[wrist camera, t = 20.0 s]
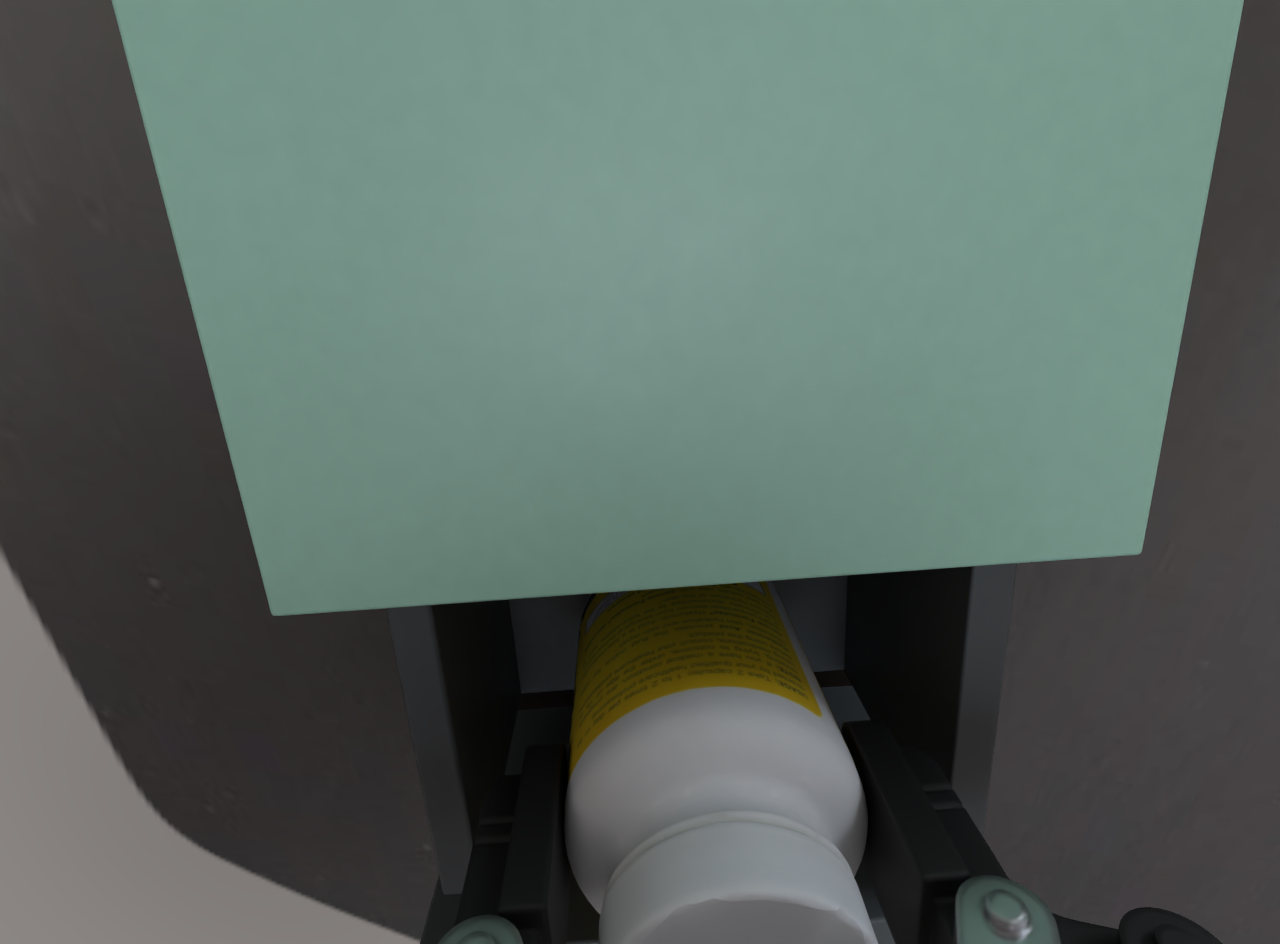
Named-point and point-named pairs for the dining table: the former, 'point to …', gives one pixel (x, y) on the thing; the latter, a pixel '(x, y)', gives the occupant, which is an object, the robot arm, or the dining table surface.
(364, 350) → the green drawer cabinet
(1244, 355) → the dining table surface
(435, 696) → the grey pull-out drawer
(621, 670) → the supplement bottle
